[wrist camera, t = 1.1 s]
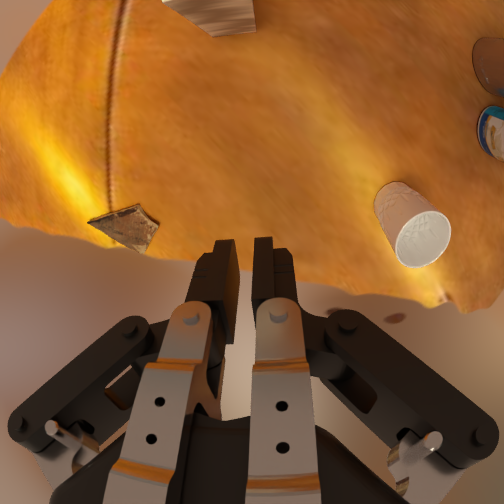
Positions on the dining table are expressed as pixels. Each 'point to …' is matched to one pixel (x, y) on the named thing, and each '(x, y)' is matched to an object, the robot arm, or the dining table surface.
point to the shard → (127, 227)
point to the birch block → (217, 15)
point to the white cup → (411, 225)
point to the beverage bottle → (492, 131)
